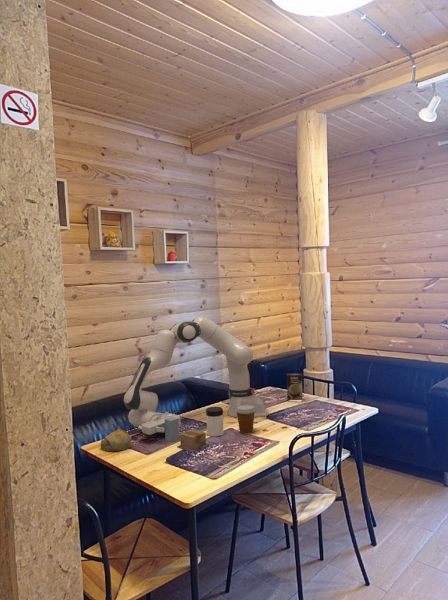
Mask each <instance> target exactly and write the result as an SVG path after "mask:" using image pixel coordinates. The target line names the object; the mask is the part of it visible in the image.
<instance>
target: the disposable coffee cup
mask: <svg viewBox="0 0 448 600" xmlns="http://www.w3.org/2000/svg"><path fill="white" fill-rule="evenodd" d="M236 412H237V417H238V418H237V417H236V418H237V423H238V428H239V432H240V433H241V434H246V435H247V434H251V433H253V431H254V421H255V417H254V412H255V408H254V406H253V405H239V406H237V408H236Z"/></svg>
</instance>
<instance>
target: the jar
mask: <svg viewBox="0 0 448 600" xmlns="http://www.w3.org/2000/svg"><path fill="white" fill-rule="evenodd" d="M205 416H206V437H207V436H208V437H216V438H217V437H219V436H224V435H225V434H224V409H223V408H222V407H220V406H210V407H207V408H206V409H205Z"/></svg>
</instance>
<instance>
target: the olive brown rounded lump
mask: <svg viewBox="0 0 448 600" xmlns="http://www.w3.org/2000/svg"><path fill="white" fill-rule="evenodd" d="M132 438H133V437H131V436H130V434H129V433H128V431H127V430H124V429H123V428H117V429H116V430H114V431H112V432H111V433H109V434H108V435H107V436H105V437H104V438H103V439H101V440H100V448H101V449H102V450H104V451H107V452H118V451H125V450H127V449H131V448H133V447H134V443H133V441H132V440H133V439H132Z"/></svg>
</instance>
